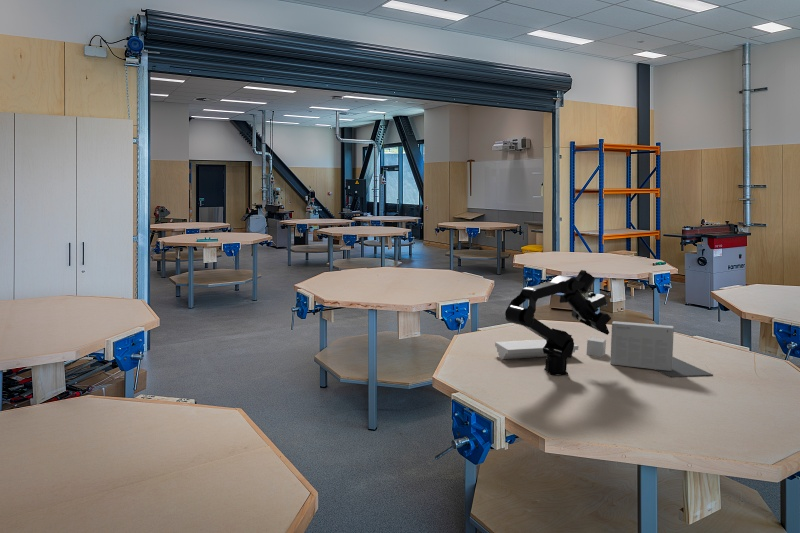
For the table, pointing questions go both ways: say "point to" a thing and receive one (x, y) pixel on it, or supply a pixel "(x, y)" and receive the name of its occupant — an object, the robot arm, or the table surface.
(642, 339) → the skincare box
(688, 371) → the rubber mat
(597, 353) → the white cube
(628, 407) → the table surface
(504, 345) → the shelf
